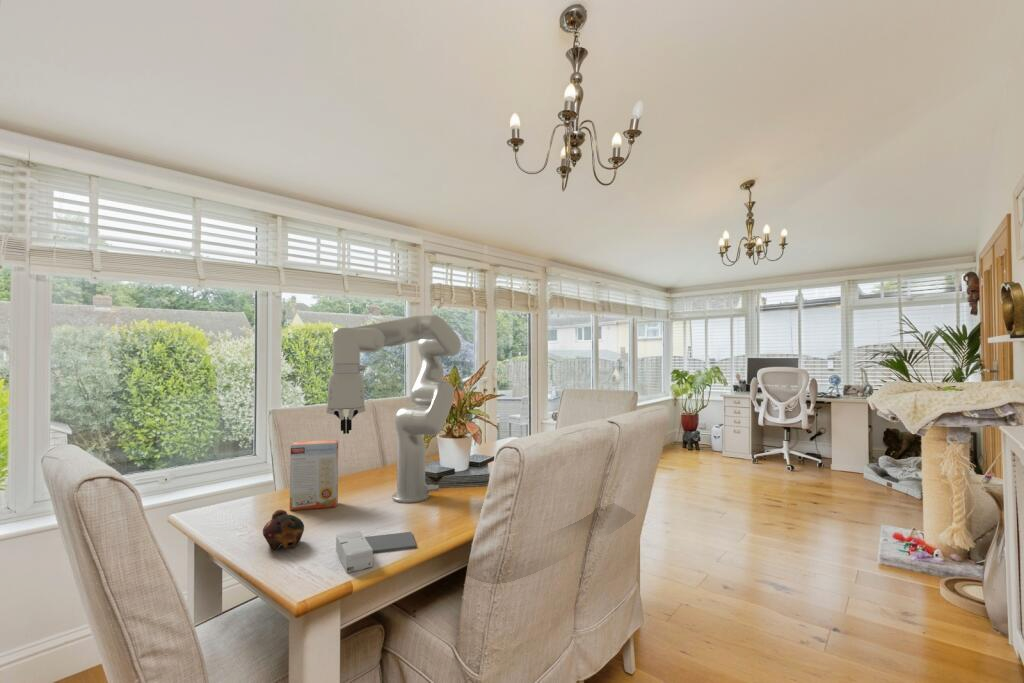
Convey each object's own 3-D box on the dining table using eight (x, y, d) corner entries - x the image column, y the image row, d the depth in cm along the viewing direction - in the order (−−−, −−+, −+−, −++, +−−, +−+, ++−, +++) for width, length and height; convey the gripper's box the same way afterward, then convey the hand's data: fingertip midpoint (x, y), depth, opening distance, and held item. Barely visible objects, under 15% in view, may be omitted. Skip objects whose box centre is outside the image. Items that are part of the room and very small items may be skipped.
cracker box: (338, 502, 158) (339, 439, 159) (335, 507, 152) (337, 442, 153) (292, 505, 155) (294, 440, 156) (288, 511, 149) (290, 444, 150)
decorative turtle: (292, 533, 130) (295, 504, 131) (312, 553, 119) (315, 521, 119) (253, 540, 124) (256, 509, 124) (270, 562, 113) (274, 529, 113)
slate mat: (411, 533, 130) (411, 531, 130) (415, 547, 121) (415, 545, 121) (353, 540, 125) (353, 538, 125) (353, 555, 116) (353, 552, 116)
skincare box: (360, 529, 120) (374, 547, 109) (359, 546, 120) (374, 566, 109) (334, 534, 116) (346, 554, 106) (334, 552, 116) (346, 573, 106)
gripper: (372, 369, 144) (371, 429, 144) (319, 370, 139) (318, 432, 139) (373, 370, 137) (373, 433, 137) (318, 371, 132) (317, 437, 132)
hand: (346, 432), depth 138 cm, fingers closed
